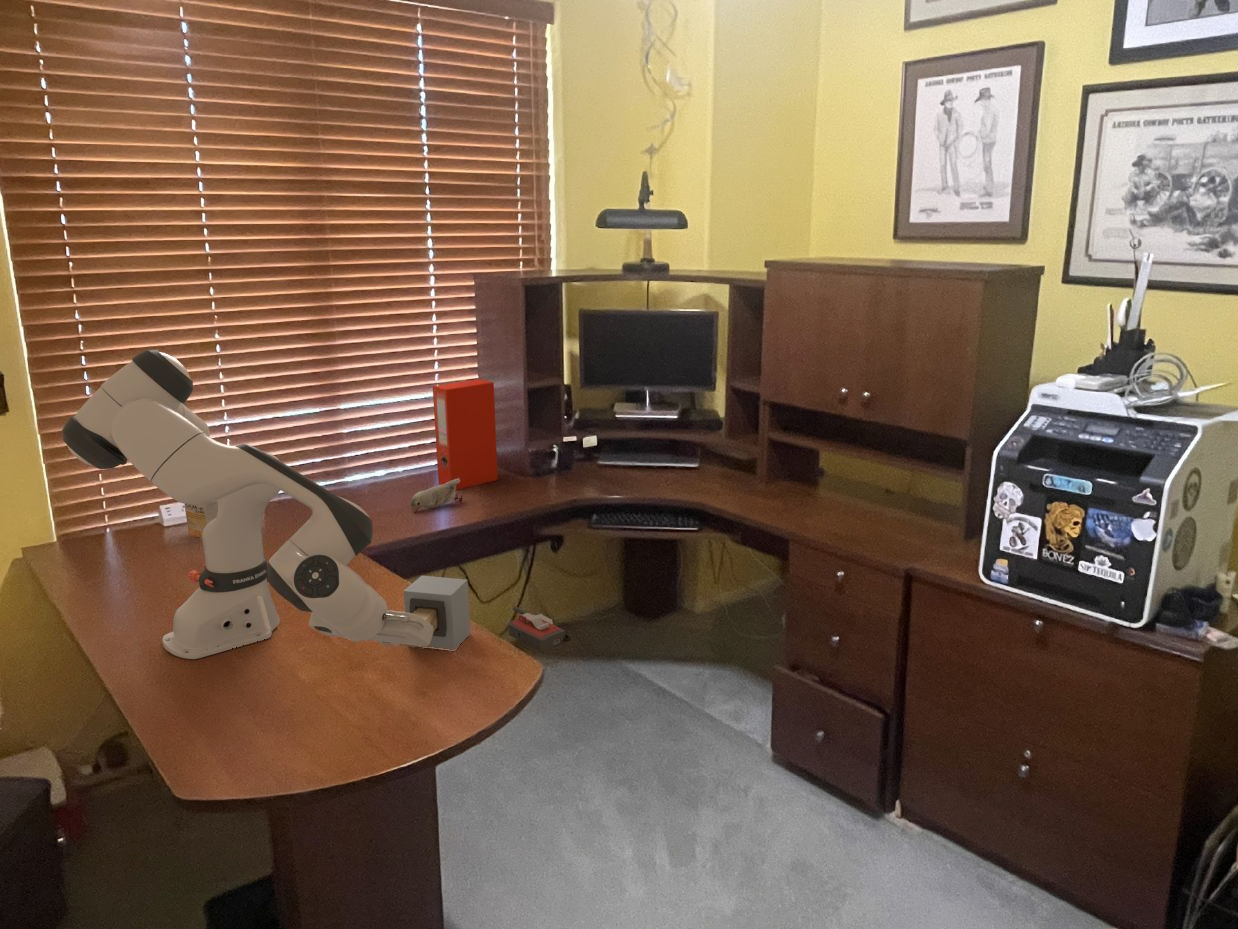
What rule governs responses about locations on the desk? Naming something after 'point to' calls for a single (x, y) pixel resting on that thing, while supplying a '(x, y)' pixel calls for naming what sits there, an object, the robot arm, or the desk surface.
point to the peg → (427, 618)
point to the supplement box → (200, 516)
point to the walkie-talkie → (537, 631)
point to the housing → (442, 607)
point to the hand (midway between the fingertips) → (391, 641)
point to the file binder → (465, 432)
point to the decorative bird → (435, 496)
